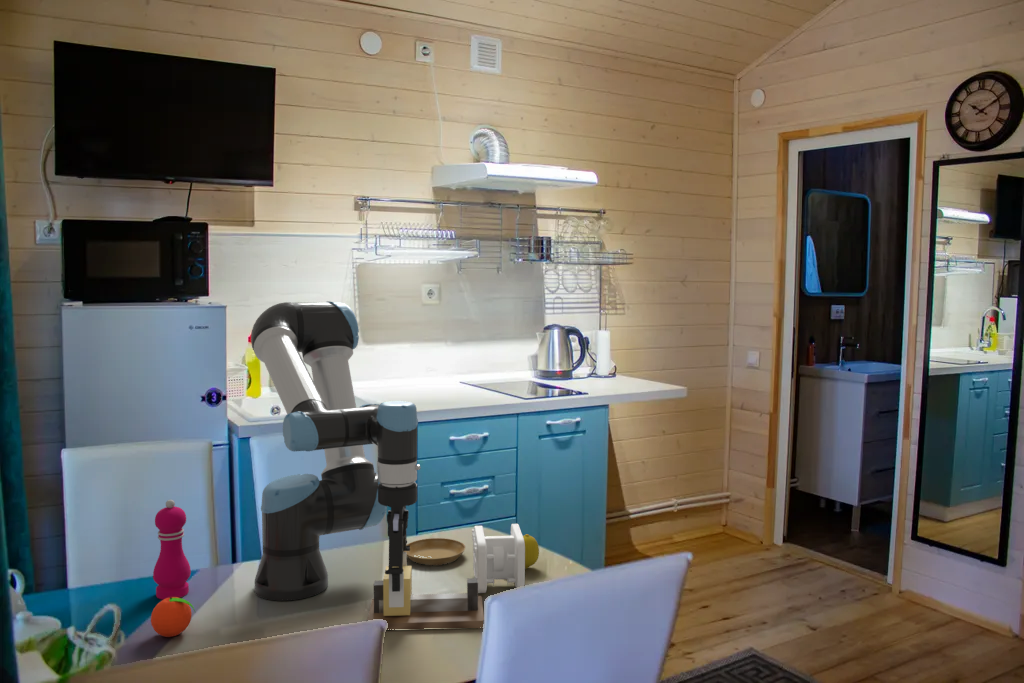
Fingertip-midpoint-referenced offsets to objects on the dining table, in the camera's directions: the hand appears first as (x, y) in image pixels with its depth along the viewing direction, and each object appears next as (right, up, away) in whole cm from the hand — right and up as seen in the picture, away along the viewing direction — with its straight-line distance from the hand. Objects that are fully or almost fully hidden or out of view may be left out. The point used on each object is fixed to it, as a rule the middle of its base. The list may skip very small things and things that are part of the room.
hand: (398, 595), depth 155 cm
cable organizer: (+19, -4, +18) cm, 26 cm away
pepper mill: (-49, -4, +11) cm, 50 cm away
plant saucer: (+4, -2, +35) cm, 35 cm away
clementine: (-40, -5, -8) cm, 41 cm away
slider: (0, -3, 0) cm, 3 cm away
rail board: (+5, -4, +1) cm, 7 cm away
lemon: (+25, -3, +27) cm, 38 cm away
